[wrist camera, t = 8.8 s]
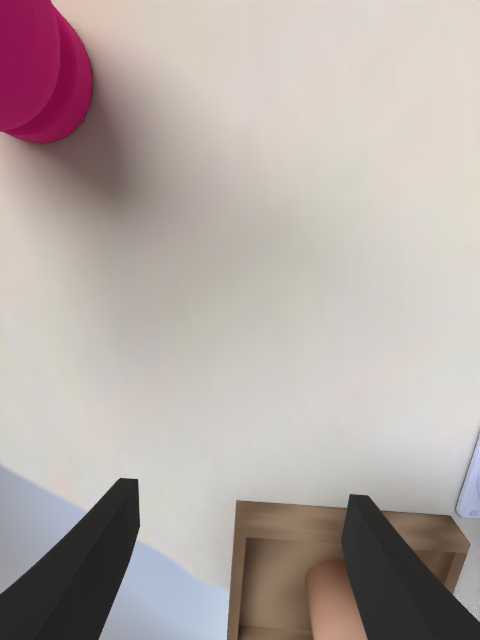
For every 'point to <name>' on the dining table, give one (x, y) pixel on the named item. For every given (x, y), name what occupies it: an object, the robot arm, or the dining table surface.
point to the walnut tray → (313, 561)
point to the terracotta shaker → (332, 603)
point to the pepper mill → (41, 72)
